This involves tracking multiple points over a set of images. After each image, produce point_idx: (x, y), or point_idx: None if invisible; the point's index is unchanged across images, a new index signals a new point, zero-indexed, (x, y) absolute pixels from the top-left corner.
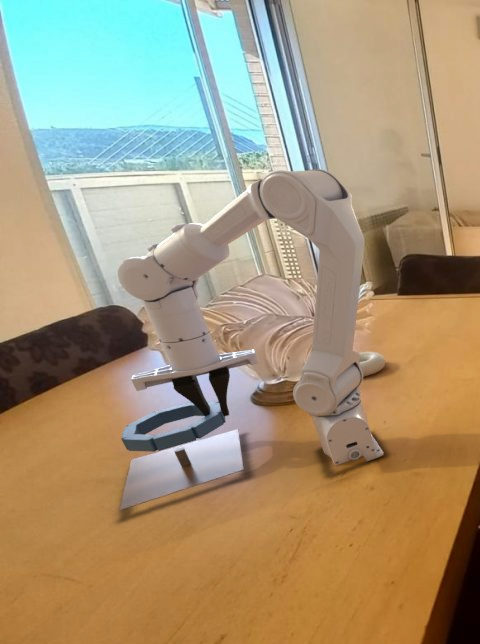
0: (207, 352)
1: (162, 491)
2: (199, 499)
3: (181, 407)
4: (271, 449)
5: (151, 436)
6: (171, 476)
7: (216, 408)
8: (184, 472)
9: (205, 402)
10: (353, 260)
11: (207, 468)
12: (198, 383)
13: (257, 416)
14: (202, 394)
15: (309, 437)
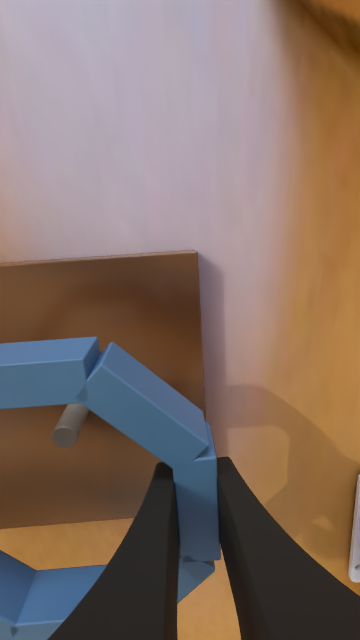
0: None
1: (53, 504)
2: (123, 519)
3: (45, 405)
4: (263, 394)
5: (2, 630)
6: (56, 448)
7: (203, 520)
8: (83, 448)
9: (173, 556)
10: None
11: (133, 460)
12: (167, 626)
13: (247, 100)
14: (170, 570)
15: (354, 387)
